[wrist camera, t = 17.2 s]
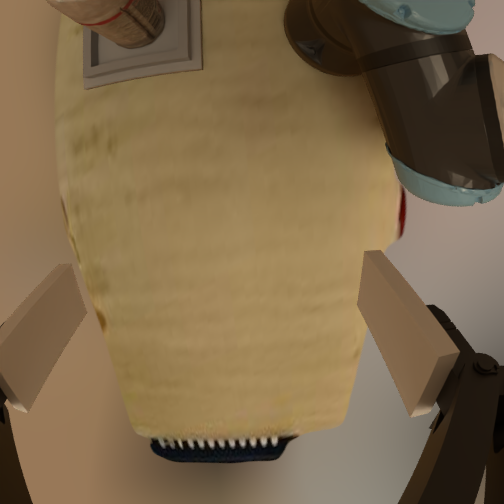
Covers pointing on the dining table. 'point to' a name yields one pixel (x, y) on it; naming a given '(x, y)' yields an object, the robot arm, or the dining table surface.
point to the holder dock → (147, 49)
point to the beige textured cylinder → (117, 19)
